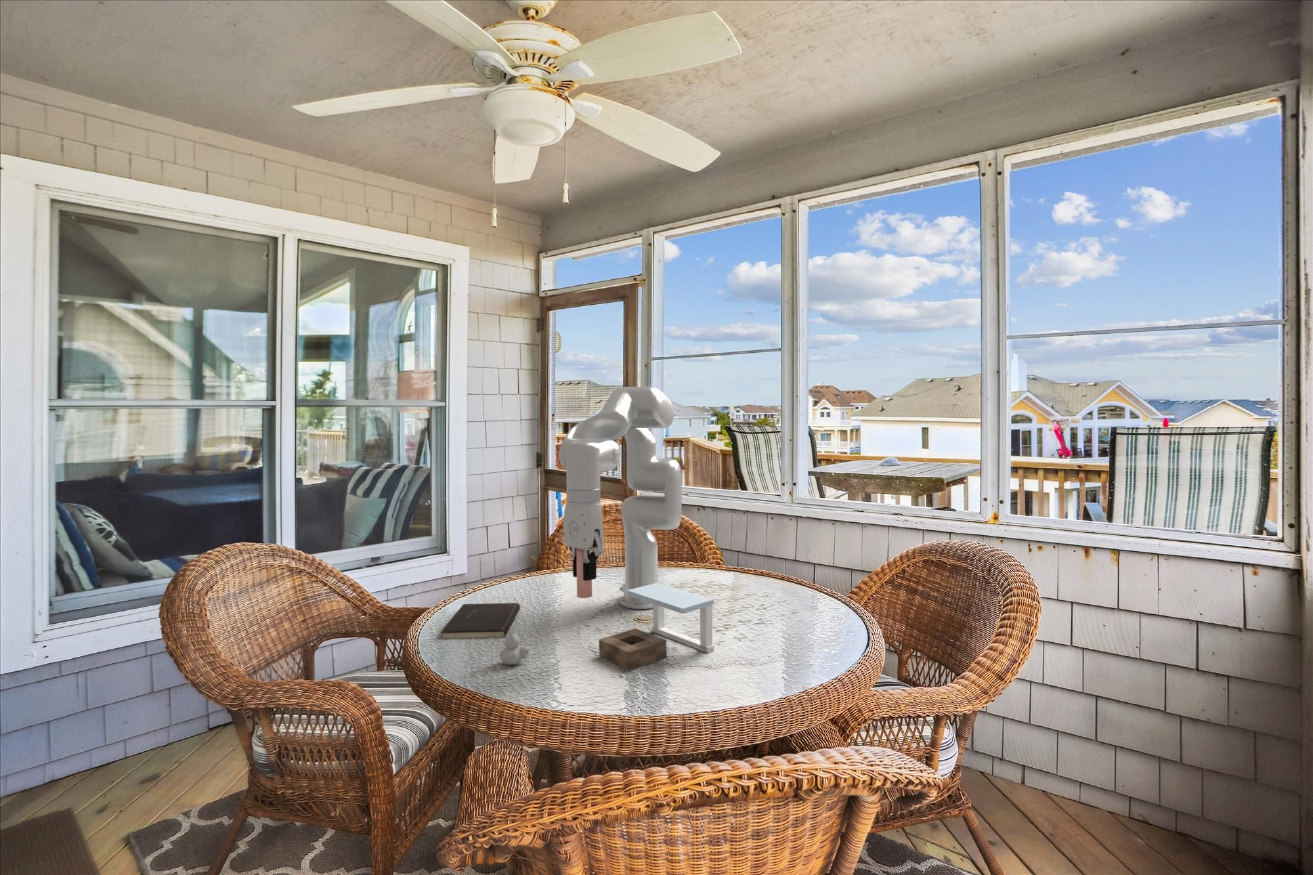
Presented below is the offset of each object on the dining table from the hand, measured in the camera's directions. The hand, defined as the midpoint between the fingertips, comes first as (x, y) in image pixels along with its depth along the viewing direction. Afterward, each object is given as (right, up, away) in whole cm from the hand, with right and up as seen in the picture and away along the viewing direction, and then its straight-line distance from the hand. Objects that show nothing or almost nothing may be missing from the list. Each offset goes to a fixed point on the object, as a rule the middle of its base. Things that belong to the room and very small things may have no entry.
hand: (584, 577), depth 147 cm
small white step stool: (+19, -19, +11) cm, 29 cm away
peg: (0, -4, 0) cm, 4 cm away
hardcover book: (-30, -19, +29) cm, 46 cm away
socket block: (+11, -19, +4) cm, 22 cm away
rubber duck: (-16, -20, 0) cm, 25 cm away
